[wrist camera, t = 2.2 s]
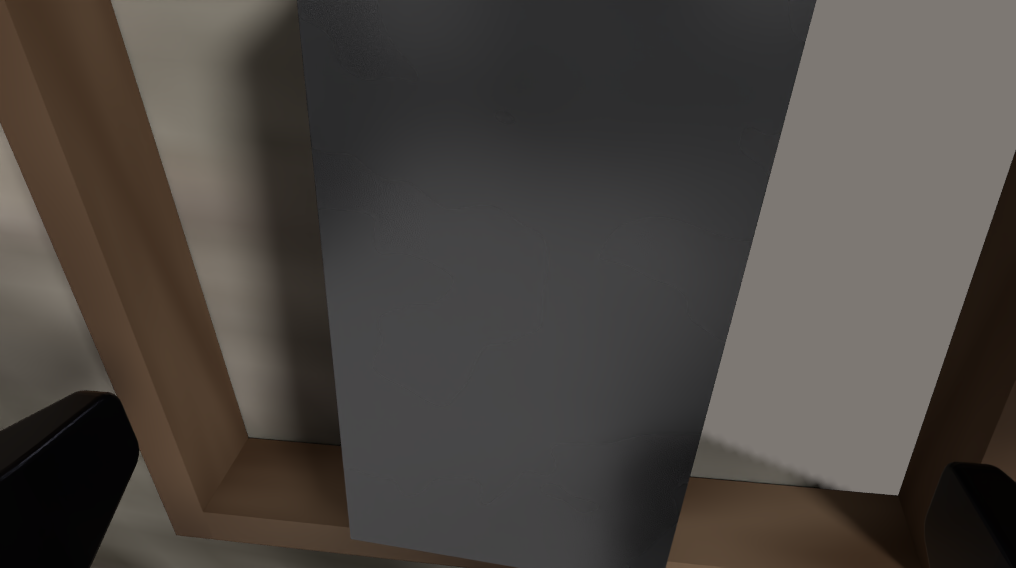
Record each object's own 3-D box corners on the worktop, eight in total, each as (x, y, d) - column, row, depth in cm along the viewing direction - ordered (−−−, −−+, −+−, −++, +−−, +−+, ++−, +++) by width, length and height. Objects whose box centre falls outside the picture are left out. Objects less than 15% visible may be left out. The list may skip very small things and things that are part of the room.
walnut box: (1254, -296, 8) (1413, -314, 6) (933, 528, 15) (967, 624, 13) (-16, -222, 10) (-146, -220, 8) (222, 461, 17) (176, 534, 15)
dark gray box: (770, -71, 10) (818, -7, 7) (658, 433, 15) (658, 591, 12) (392, -101, 10) (291, -53, 8) (407, 395, 15) (350, 539, 13)
